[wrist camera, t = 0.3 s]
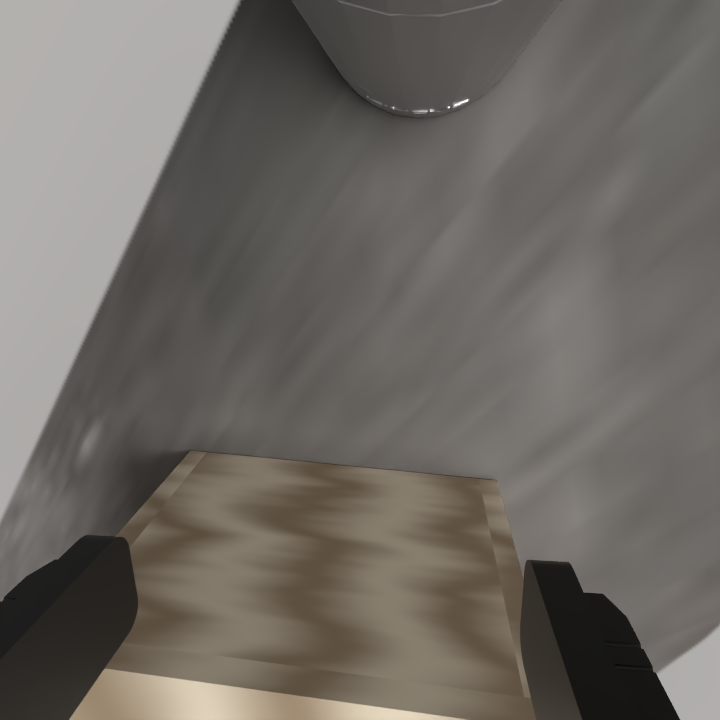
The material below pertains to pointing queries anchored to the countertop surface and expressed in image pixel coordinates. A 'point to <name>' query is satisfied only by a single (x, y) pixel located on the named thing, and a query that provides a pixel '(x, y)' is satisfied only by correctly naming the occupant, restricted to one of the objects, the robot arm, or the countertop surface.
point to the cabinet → (318, 598)
